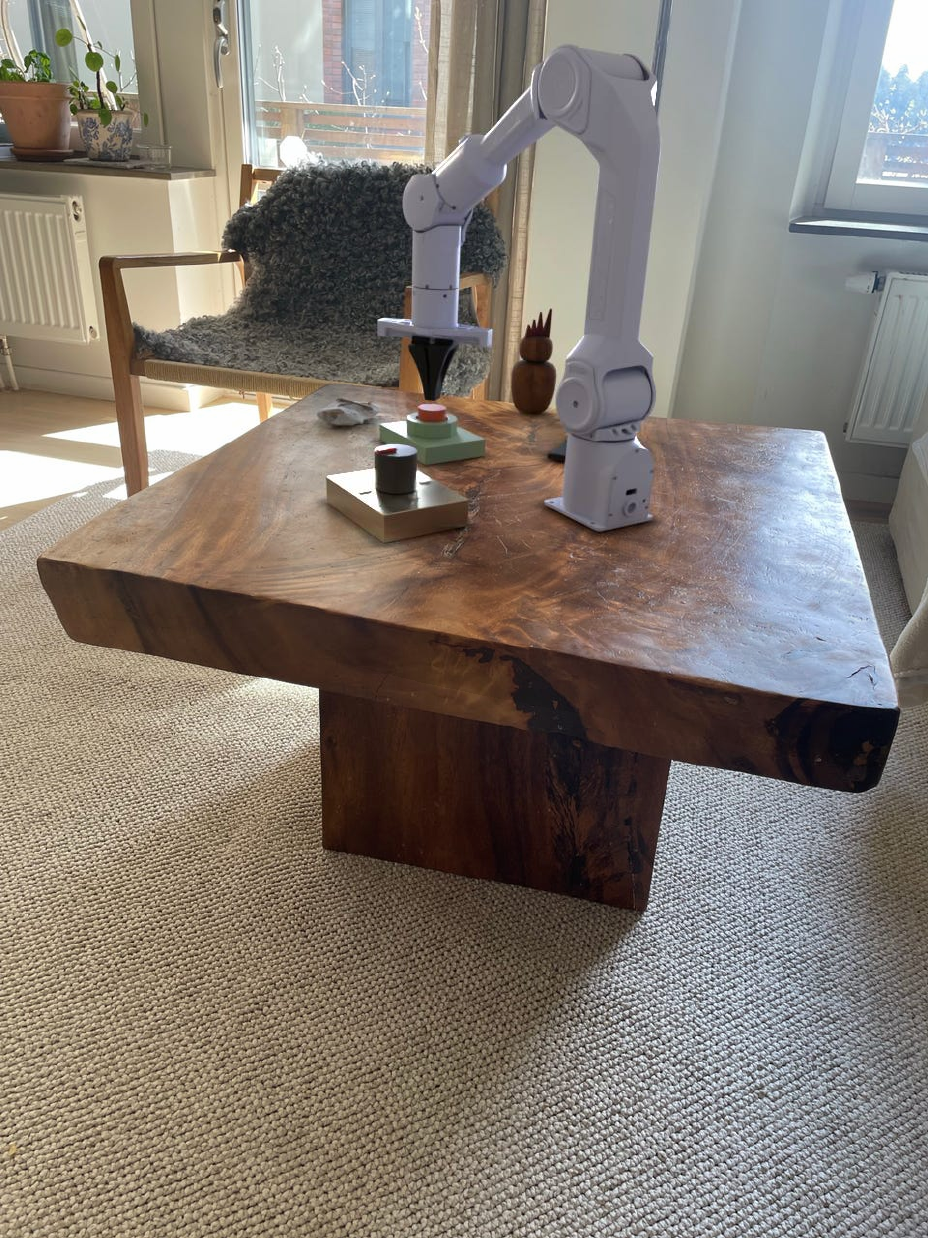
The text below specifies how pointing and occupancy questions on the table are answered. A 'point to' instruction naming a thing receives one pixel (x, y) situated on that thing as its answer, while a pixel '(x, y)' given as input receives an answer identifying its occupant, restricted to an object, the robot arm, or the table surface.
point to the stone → (347, 412)
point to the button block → (434, 439)
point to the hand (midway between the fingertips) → (432, 398)
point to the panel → (397, 506)
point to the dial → (395, 468)
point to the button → (432, 413)
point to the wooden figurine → (534, 369)
